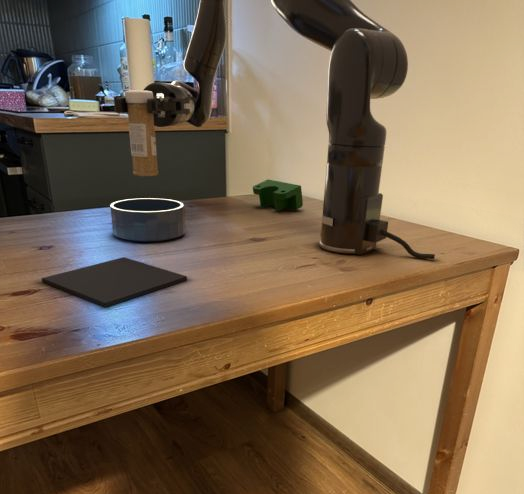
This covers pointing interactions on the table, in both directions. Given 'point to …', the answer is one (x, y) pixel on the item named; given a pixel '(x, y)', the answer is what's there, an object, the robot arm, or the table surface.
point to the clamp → (279, 195)
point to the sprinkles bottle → (141, 133)
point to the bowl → (148, 219)
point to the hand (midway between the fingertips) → (134, 105)
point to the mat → (114, 281)
